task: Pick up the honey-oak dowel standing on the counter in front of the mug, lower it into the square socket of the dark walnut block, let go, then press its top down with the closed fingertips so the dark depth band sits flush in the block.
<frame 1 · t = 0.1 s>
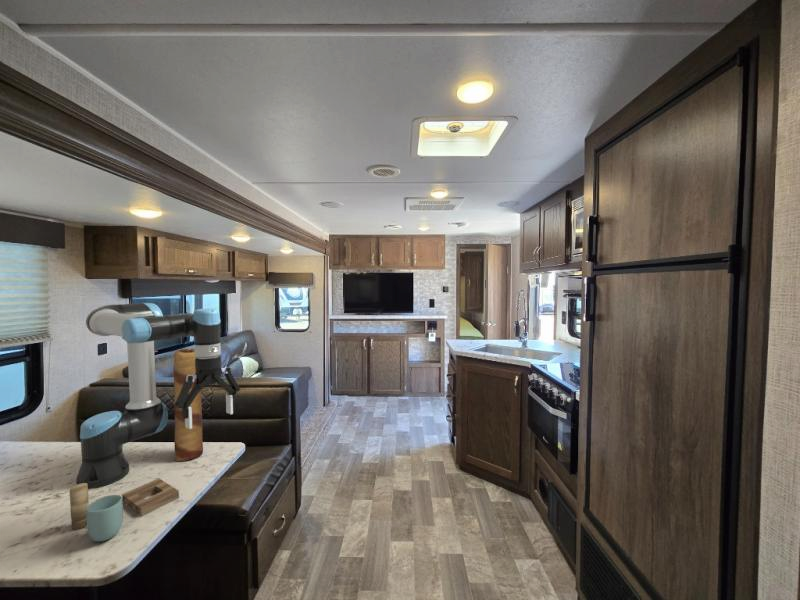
hand: (210, 420, 114), 28 cm above the table, fingers open, 13 cm apart
peg: (80, 525, 105), on the table
board: (150, 499, 117), on the table
cup: (106, 536, 100), on the table
wafer roll: (189, 456, 146), on the table
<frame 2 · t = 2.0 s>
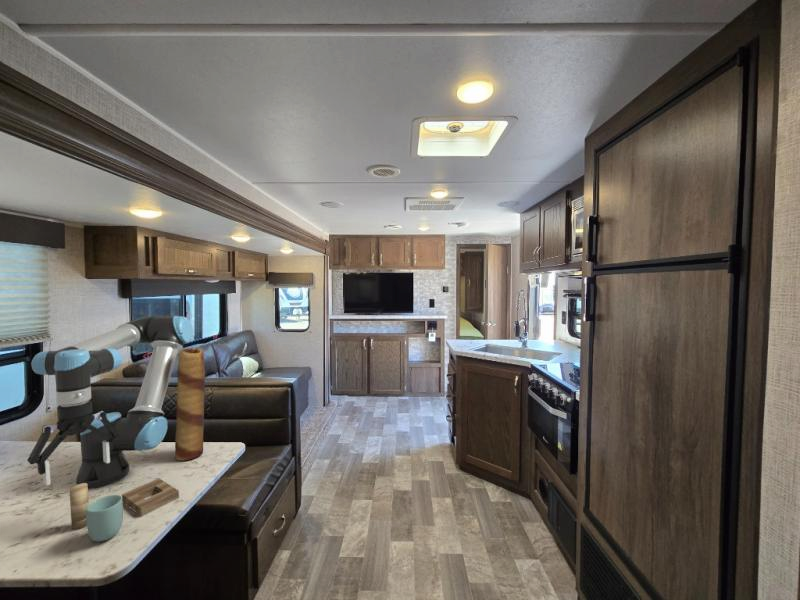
hand: (78, 472, 104), 17 cm above the table, fingers open, 13 cm apart
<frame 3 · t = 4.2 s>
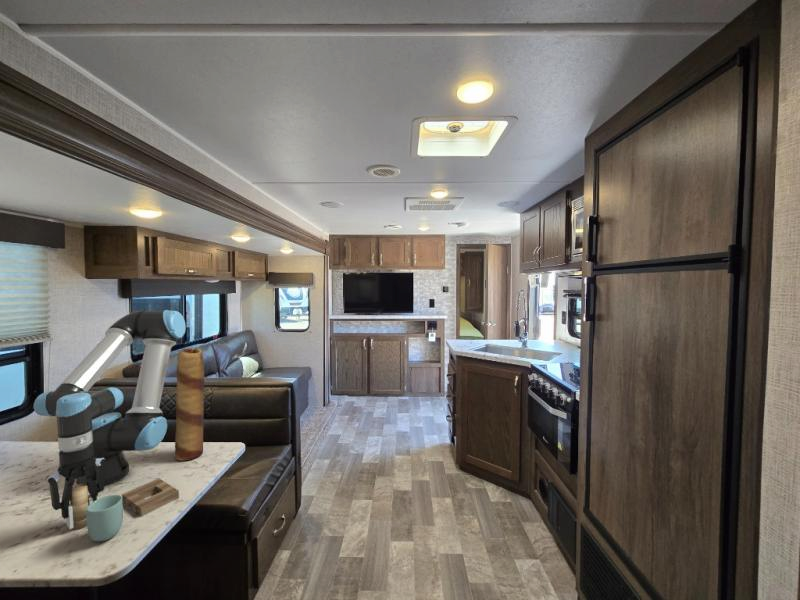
hand: (80, 521, 105), 1 cm above the table, fingers closed on peg, 4 cm apart
peg: (80, 525, 105), on the table, touching gripper
wafer roll: (189, 455, 146), on the table, touching arm
everything else where it was.
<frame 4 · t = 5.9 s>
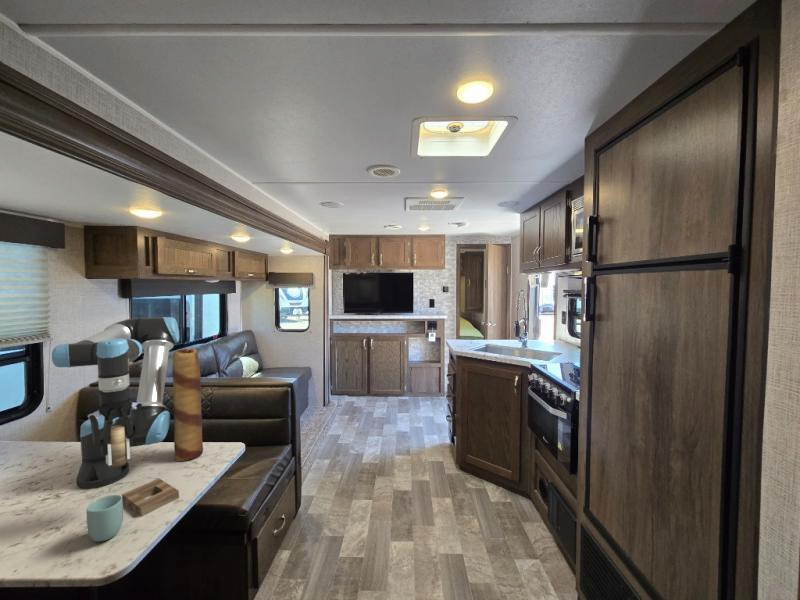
hand: (118, 460, 110), 17 cm above the table, fingers closed on peg, 4 cm apart
peg: (118, 464, 110), point 15 cm above the table, touching gripper
wafer roll: (189, 455, 146), on the table
everything else where it was.
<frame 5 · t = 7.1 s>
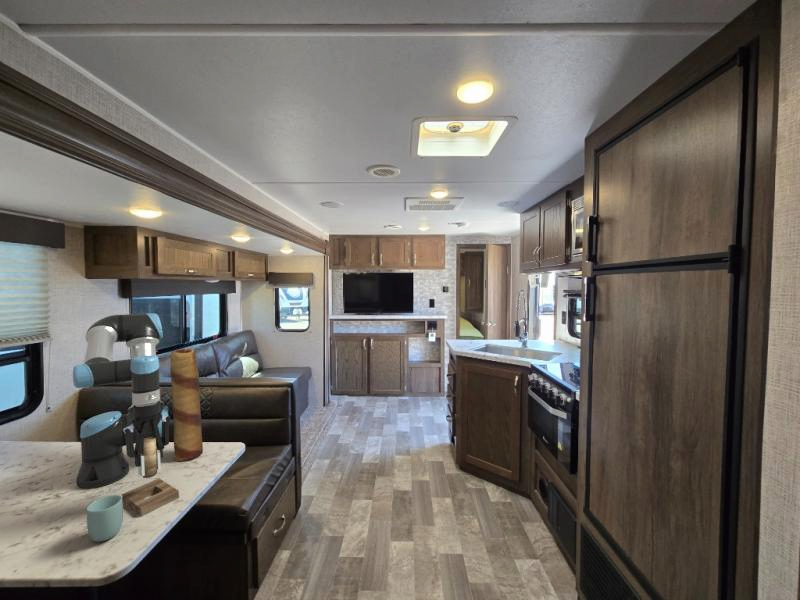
hand: (149, 471, 116), 10 cm above the table, fingers closed on peg, 4 cm apart
peg: (150, 474, 116), point 9 cm above the table, touching gripper
when the fingers open (3 cm above the table, at t = 8.5 s): peg drops 2 cm, resting in board.
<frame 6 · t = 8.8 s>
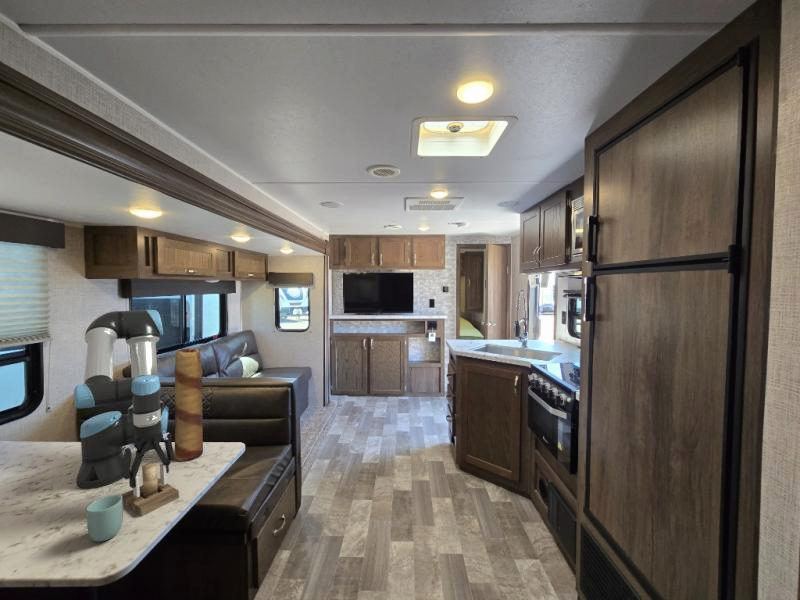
hand: (150, 489, 117), 4 cm above the table, fingers open, 7 cm apart
peg: (151, 499, 117), resting in board
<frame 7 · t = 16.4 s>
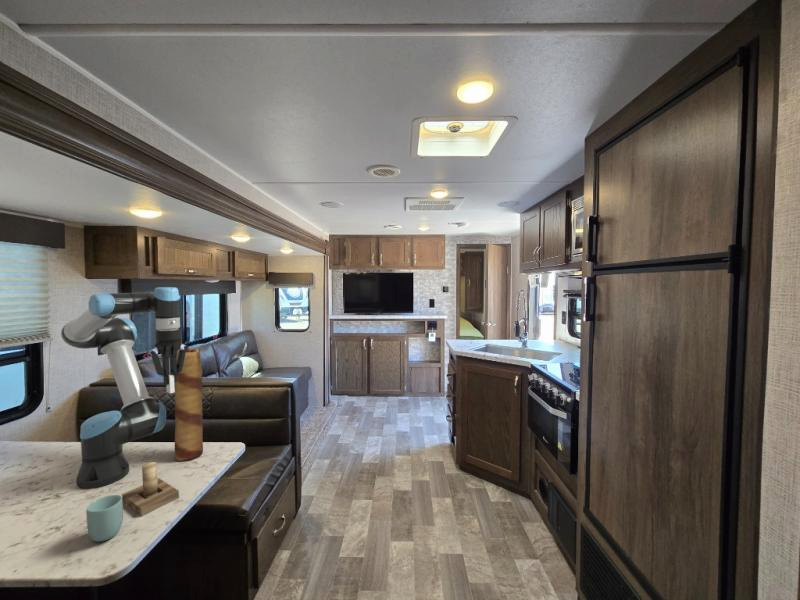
hand: (170, 392, 129), 32 cm above the table, fingers closed
nothing on the table moved.
at the end: peg 0.1 cm off-centre on the board, point 0.0 cm above the board's base; peg tilted 0°; the gripper is holding nothing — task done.
